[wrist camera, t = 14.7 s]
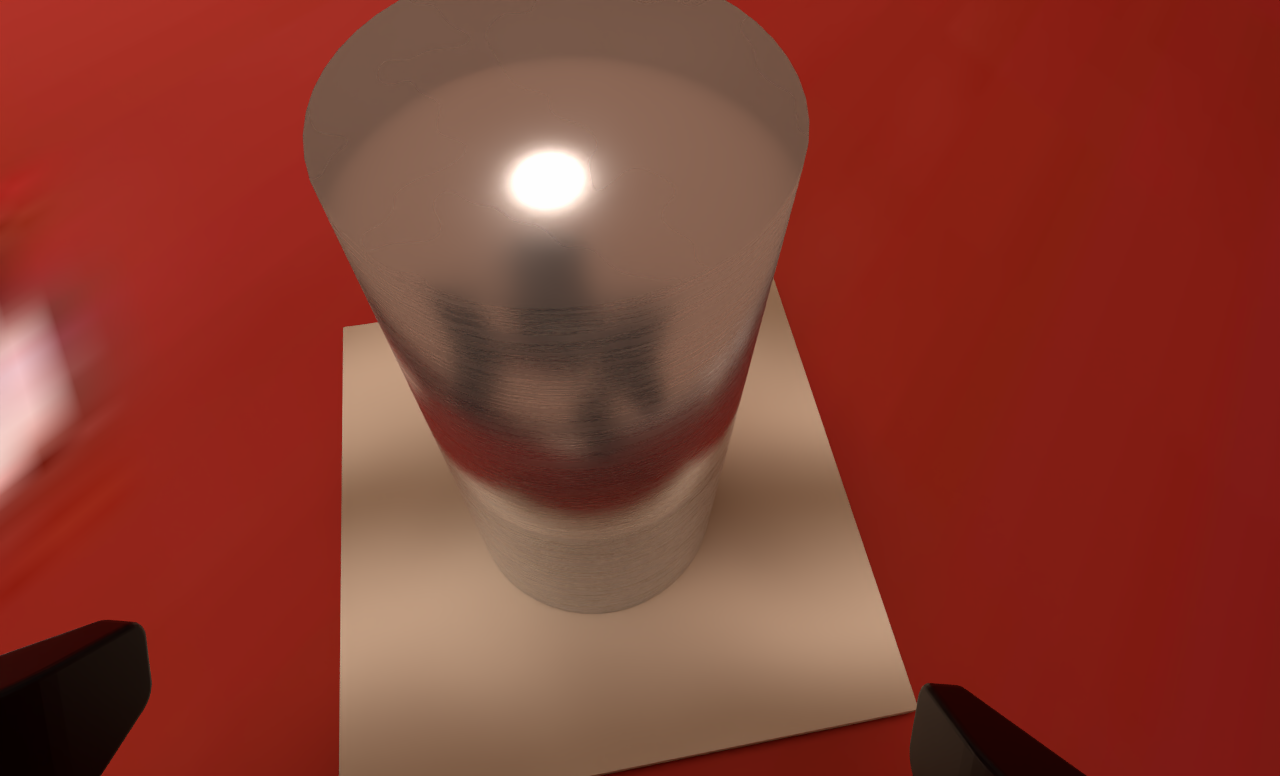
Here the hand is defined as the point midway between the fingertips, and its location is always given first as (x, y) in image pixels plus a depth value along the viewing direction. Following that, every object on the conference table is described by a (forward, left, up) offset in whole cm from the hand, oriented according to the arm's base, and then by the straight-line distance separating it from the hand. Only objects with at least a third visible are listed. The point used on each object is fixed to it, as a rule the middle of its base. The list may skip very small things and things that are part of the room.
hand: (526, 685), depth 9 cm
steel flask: (+6, -1, -9) cm, 11 cm away
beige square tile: (+6, -1, -10) cm, 12 cm away
